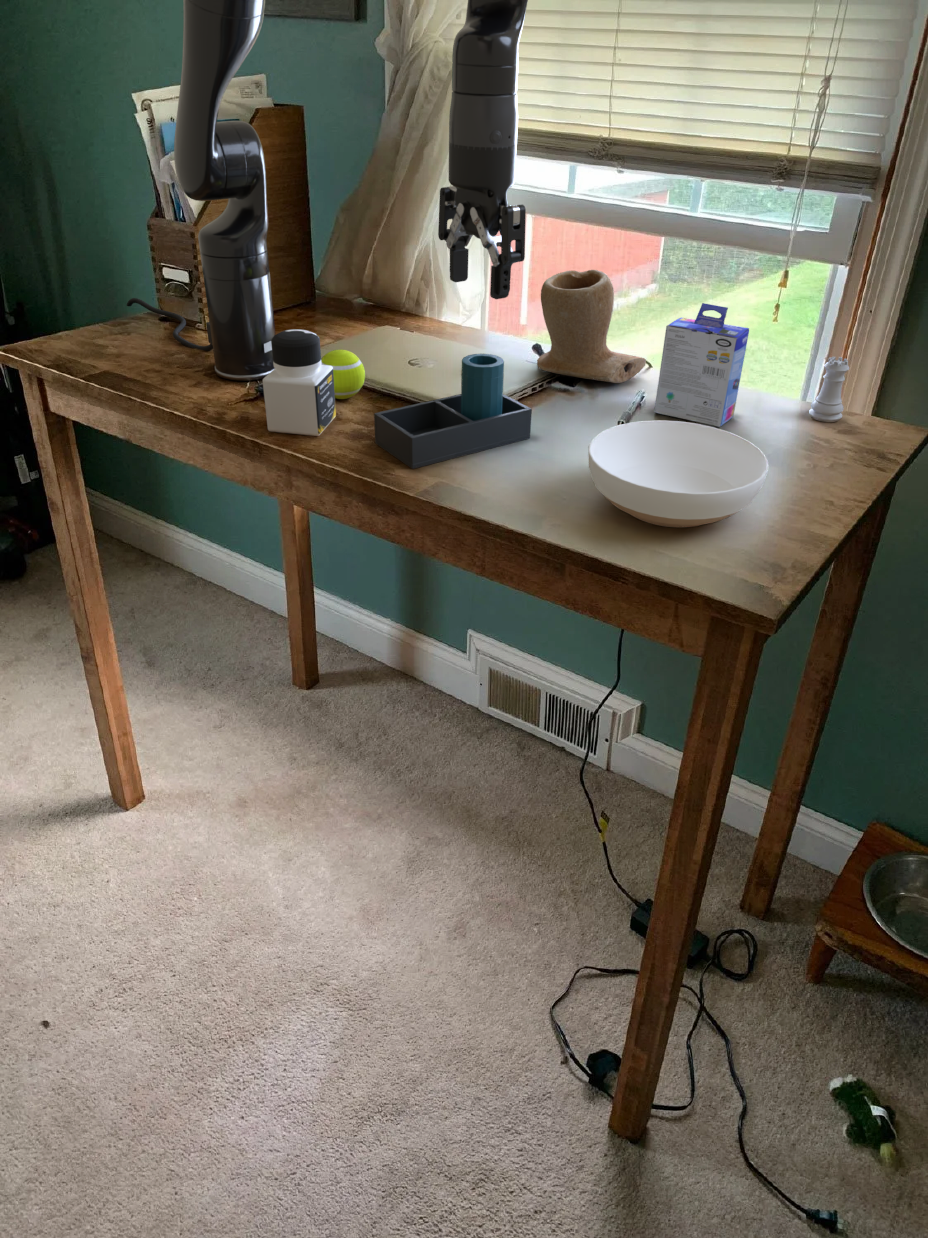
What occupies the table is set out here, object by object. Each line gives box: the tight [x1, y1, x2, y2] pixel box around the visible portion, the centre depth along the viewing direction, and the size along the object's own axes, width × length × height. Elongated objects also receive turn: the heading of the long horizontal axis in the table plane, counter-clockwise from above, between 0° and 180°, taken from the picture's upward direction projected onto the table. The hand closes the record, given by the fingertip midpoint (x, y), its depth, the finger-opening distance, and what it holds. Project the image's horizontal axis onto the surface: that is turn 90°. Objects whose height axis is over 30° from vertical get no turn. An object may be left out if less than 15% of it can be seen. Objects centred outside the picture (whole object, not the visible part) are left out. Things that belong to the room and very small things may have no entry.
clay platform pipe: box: [536, 269, 647, 384], centre depth 138 cm, size 15×12×15 cm
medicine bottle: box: [262, 328, 337, 437], centre depth 121 cm, size 7×7×12 cm
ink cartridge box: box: [653, 302, 750, 428], centre depth 125 cm, size 10×6×14 cm, turn 58°
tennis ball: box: [321, 348, 366, 400], centre depth 131 cm, size 7×7×7 cm
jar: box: [460, 353, 505, 421], centre depth 120 cm, size 5×5×9 cm
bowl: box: [587, 420, 770, 528], centre depth 105 cm, size 20×20×6 cm
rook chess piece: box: [808, 356, 851, 423], centre depth 127 cm, size 4×4×8 cm
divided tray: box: [373, 393, 533, 470], centre depth 120 cm, size 9×18×4 cm, turn 124°
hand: (478, 289), depth 113 cm, fingers open, 8 cm apart
